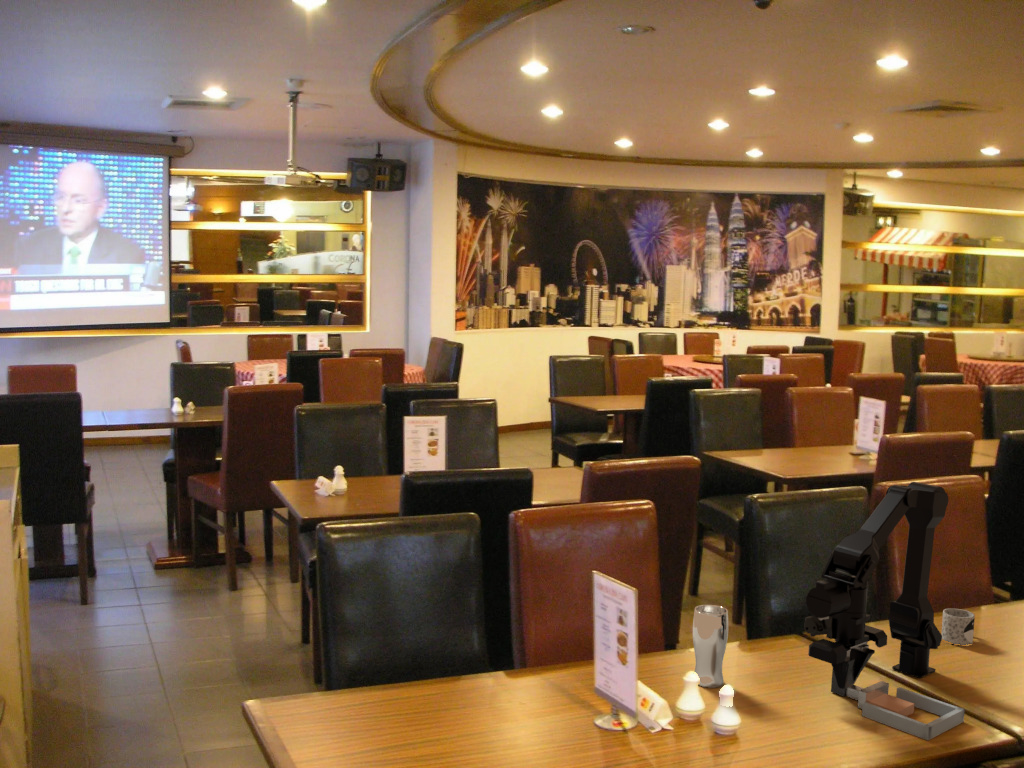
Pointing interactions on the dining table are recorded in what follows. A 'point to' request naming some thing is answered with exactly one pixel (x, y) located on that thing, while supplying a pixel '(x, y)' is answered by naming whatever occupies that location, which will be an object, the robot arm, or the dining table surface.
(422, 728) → the dining table surface
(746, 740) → the dining table surface
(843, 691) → the grey angular piece
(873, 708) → the corral
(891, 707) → the terracotta tile
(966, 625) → the mug
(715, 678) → the beer glass
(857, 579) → the robot arm
